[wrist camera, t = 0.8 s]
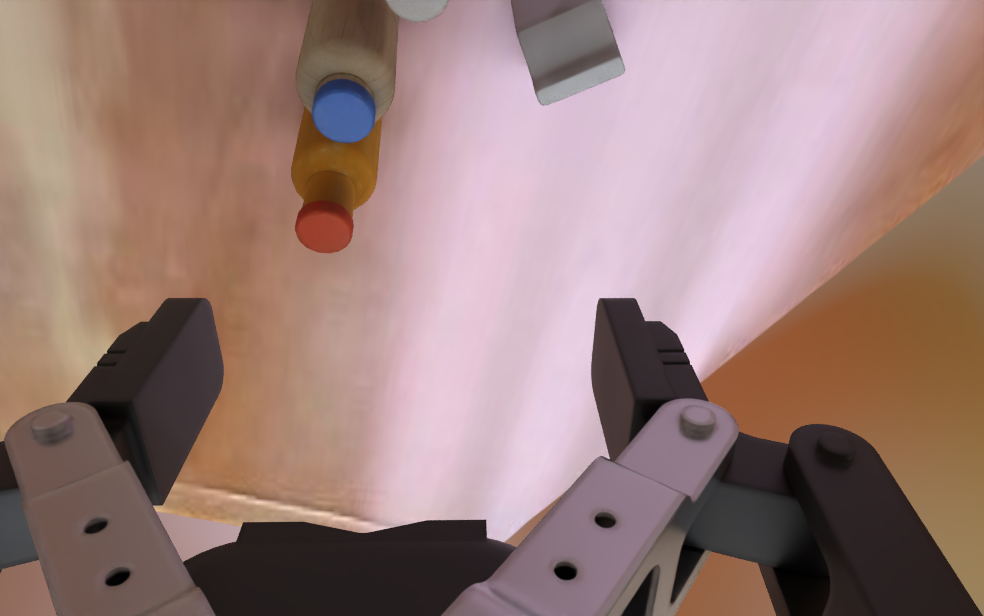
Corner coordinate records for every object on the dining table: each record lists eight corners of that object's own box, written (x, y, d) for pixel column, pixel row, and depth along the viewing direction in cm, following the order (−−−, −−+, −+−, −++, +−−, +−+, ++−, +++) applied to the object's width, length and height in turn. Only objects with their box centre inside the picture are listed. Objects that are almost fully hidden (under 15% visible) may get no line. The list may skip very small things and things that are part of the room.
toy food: (336, 150, 46) (317, 284, 38) (203, -37, 37) (141, 87, 29) (758, -25, 39) (844, 93, 31) (720, -303, 30) (825, -238, 22)
